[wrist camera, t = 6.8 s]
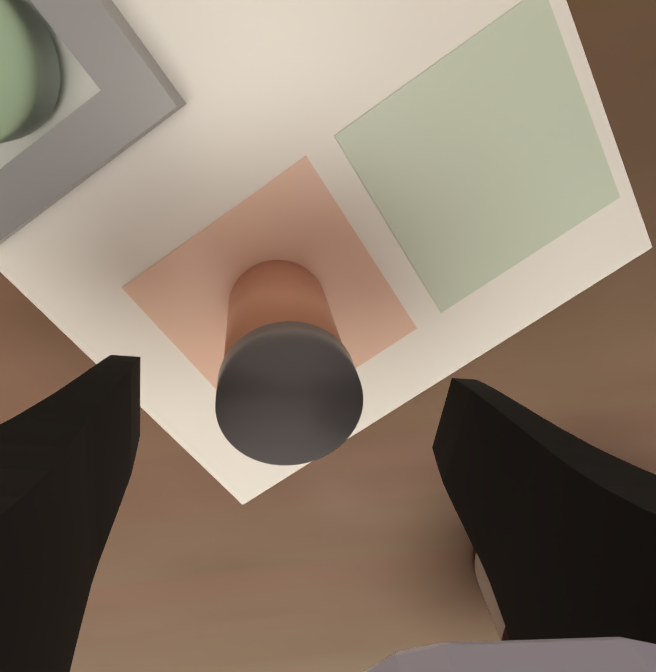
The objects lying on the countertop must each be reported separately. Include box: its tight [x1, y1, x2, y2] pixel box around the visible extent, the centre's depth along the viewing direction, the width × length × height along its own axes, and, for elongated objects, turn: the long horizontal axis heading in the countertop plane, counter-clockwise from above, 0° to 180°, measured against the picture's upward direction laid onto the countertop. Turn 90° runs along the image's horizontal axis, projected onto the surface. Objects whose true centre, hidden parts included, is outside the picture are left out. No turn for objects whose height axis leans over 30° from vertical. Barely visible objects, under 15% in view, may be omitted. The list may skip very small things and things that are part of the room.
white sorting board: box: [0, 0, 652, 505], centre depth 15 cm, size 20×18×3 cm
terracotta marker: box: [215, 260, 363, 465], centre depth 15 cm, size 3×3×6 cm
